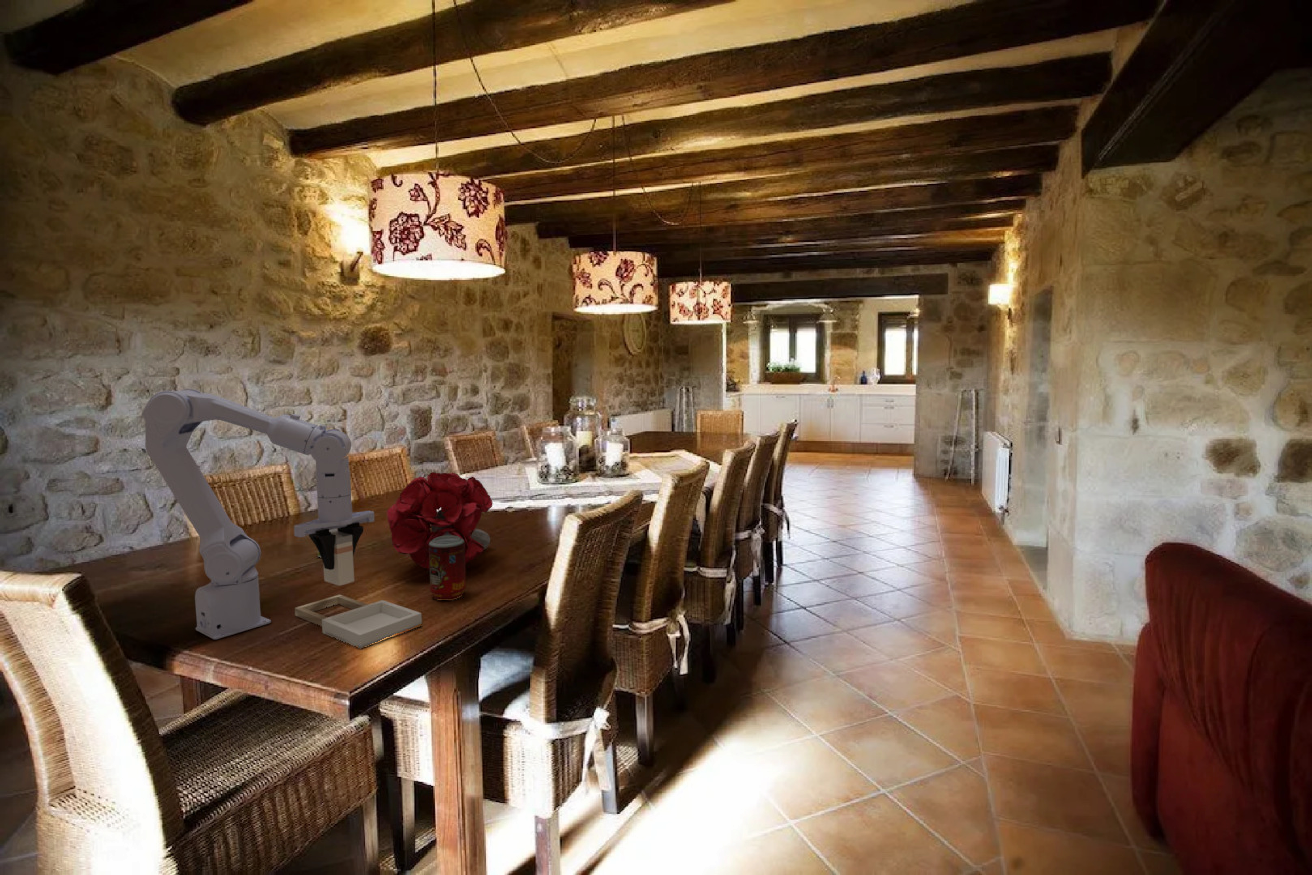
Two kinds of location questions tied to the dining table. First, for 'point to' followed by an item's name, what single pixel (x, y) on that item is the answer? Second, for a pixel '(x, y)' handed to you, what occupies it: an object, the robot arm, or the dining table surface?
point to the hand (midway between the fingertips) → (338, 566)
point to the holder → (310, 615)
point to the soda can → (447, 567)
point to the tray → (370, 623)
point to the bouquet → (439, 515)
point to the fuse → (341, 560)
